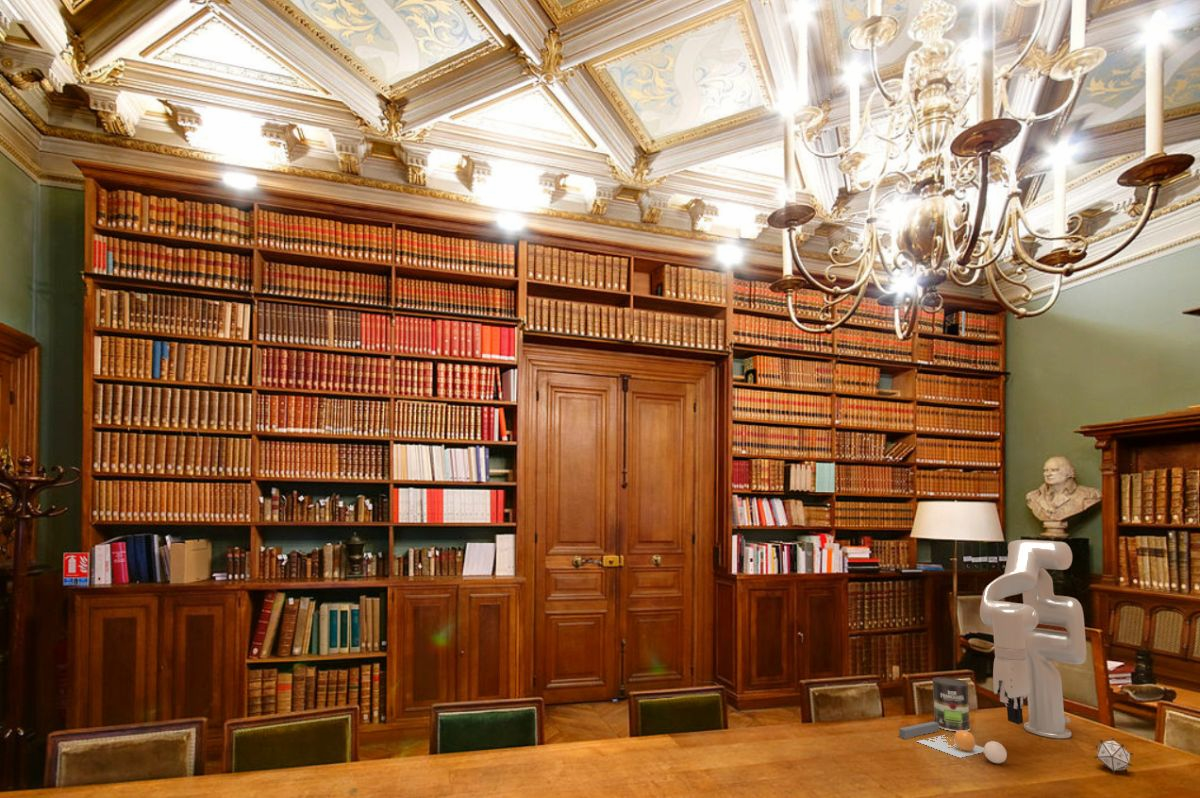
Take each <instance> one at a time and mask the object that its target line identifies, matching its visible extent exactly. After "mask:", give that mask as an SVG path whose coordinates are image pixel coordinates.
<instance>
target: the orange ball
mask: <svg viewBox="0 0 1200 798" xmlns="http://www.w3.org/2000/svg"><path fill="white" fill-rule="evenodd" d="M953 737H954V742H955V744H956V746H957V747H958V748H959V749H961V750H963V751H971V750H973V749H974V747H975V745H976V739H975V737H974V735H973V734H972V733H971V732H970V731H969V732H968V731H965V730H960V731H958V732H954V736H953Z"/></svg>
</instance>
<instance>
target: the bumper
mask: <svg viewBox="0 0 1200 798" xmlns="http://www.w3.org/2000/svg"><path fill="white" fill-rule="evenodd" d="M937 731H939V732H940V728H939V723H936V722H935V721H933V720H932V721H929V722H924V723H919V724H913V725H910V726H905V727H900V728H898V734H899V738H900V737H901V739H903V738H904V739H903V740H907V738H908V739H911V738H910V737H913V738H915V737H914V736H917V737H919V736H918V735H922V736H924V735H923V734H926V735H929V734H928V733H931V734H934V733H933V732H935V733H938V732H937Z"/></svg>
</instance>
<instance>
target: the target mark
mask: <svg viewBox="0 0 1200 798" xmlns="http://www.w3.org/2000/svg"><path fill="white" fill-rule="evenodd" d="M945 735H946V734H943V735H938V736H934V737H929V738H927V739H929V740H928V741H927V740H925V739H926V738H925V739H920V740H916V741H915V743H917V742H919V743H918V744H920V743H921V745H923V744H924V745H923V746H925V745H927V746H926V747H928V746H929V747H928V748H931V747H932V748H931V749H933V748H934V750H936V749H937V750H936V751H939V750H940V751H939V752H941V751H942V753H944V752H945V754H947V753H948V754H947V755H949V754H950V756H952V755H953V756H952V757H955V756H956V757H955V758H958V757H959V758H958V759H963V758H966V756H967V757H971V756H975V755H978V753H979V754H981V753H982V752H983V753H984V747H983V746H980V745H977V744H975V747H974V749H973V750H971V751H963V750H960V749H959V748H958V747H957V746H955V745H956V744H954V745H953V746H954V747H953V746H951V745H948V742H947V743H946V742H943V741H947V740H946V739H941V738H946V737H943V736H945ZM941 736H942V737H941ZM936 737H938V738H936ZM931 738H935V739H931ZM947 738H948V737H947ZM936 739H937V740H936ZM930 740H933V741H935V742H932V741H930ZM950 741H951V740H950ZM948 747H950V748H948ZM951 747H953V748H951ZM983 753H982V754H983ZM974 754H975V755H974ZM962 757H963V758H962Z"/></svg>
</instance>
